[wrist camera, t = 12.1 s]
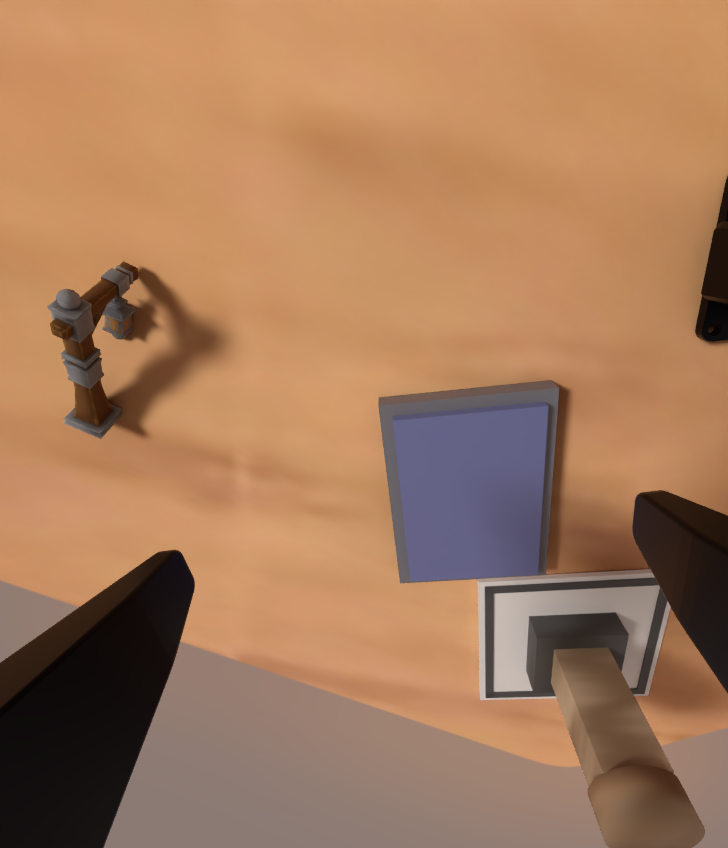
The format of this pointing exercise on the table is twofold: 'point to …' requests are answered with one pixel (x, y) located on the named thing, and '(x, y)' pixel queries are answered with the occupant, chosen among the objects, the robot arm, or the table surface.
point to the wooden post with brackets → (92, 344)
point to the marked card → (561, 595)
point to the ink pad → (471, 480)
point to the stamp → (610, 731)
